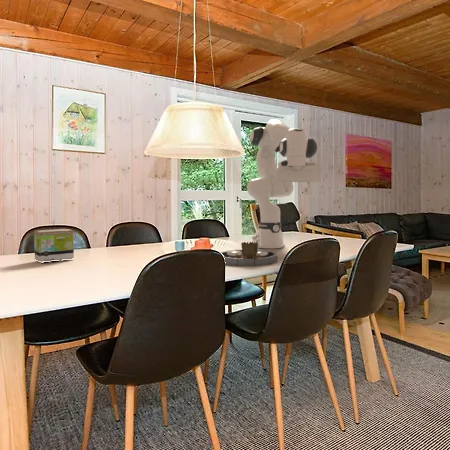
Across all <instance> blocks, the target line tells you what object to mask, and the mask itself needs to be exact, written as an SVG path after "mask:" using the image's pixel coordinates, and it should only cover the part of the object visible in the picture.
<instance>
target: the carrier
mask: <svg viewBox="0 0 450 450" xmlns="http://www.w3.org/2000/svg"><path fill="white" fill-rule="evenodd" d="M221 253H222V254H223V255H224V258H225V262H226V266H235V267H257V266H258V267H260V266H268V264H269V265H272V263H273V264H275V262H276V263H277V262H278V254H277V252H275V251H271V250H264V249H263V250H262V249H257V254H256V256H255V257H254V258H246V257H245V256H244V255H243V252H242V249H234V250H233V249H232V250H224V251H221Z"/></svg>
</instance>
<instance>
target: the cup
mask: <svg viewBox="0 0 450 450" xmlns="http://www.w3.org/2000/svg"><path fill="white" fill-rule="evenodd" d="M240 245H241V250H242V252H243V255H244V256H245V257H246V258H254V257H255V256H256V254H257V250H259V248H258V242H256V243H253V241H250V242H249V241H247V242H245V241H244V242H241V243H240Z"/></svg>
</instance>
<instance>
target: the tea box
mask: <svg viewBox="0 0 450 450" xmlns="http://www.w3.org/2000/svg"><path fill="white" fill-rule="evenodd" d="M33 242H34V243H33V244H34V247H33V249H34V260H35V259H36V260H38V261H41V262H42V261H51V260H62V259H72V258H74V257H75V251H74V249H75V248H74V246H75V244H74V230H72V229H68V228H58V229H41V230H40V229H39V230H34V231H33ZM74 259H75V258H74Z"/></svg>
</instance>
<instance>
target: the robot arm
mask: <svg viewBox="0 0 450 450" xmlns="http://www.w3.org/2000/svg"><path fill="white" fill-rule="evenodd" d="M249 142H250V144H251V145H252V146H255V147H260V148H259V149H258V151H257V152H256V167H257V173H258V176H259V177H258V178H253V179H250V180H249V181H248V182H247V186H246V187H247V188H246V189H247V193H248V194H249V196H251V198H253V199H254V200H255V201H256V203H257V204H258V207H259V212H260V213H259V214H260V221H259V222H258V229H257V231H256V232H255V233H253V236H252V237H251V238H252V242H253V243H256V242H258V249H280V248H284V247H285V245H286V244H285V243H284V234H283V231H282V230H281V229H282V221H281V209H280V207H279V206H278V205H277V204H276V203H273V202H271V200H270V198H285V197H290V196H291V195H292V193H293V191H294V184H293V183H306V184H307V186H306V187H304V192H305V193H306V192H308V191H309V188H310V186H311V183H316V182H318V180H319V174H318V173H319V164H318V163H317V162H307V159H311V158H312V157H314V156H315V154H316V153H317V150H318V144H317V142H316V140H315V139H314V138H313V137H307V136H306V133H305V130H304V129H303V128H291V127H290V126H288V125H286V124H285V123H284V122H283V121H281V120H279V119H275V118H273V119H270V120H269V121H267V123H266V125H265V127H262V126H261V125H260V126H259V127H255V128H253V129H252V130H251V132H250V134H249ZM275 153H279V154H280V155H281V156H282V157H283V158H286V159H284V160H281V161H279V162H278V163H277V162H276V157H275Z"/></svg>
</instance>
